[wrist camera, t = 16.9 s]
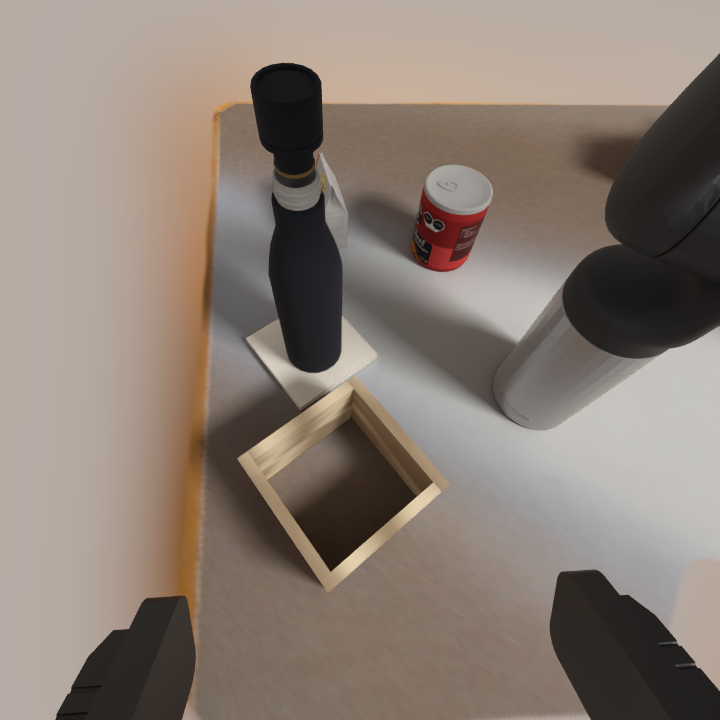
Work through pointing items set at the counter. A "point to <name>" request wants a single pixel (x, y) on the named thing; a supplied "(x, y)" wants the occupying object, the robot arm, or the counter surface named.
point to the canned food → (450, 216)
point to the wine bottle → (299, 217)
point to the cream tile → (305, 384)
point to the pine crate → (314, 427)
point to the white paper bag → (333, 203)
